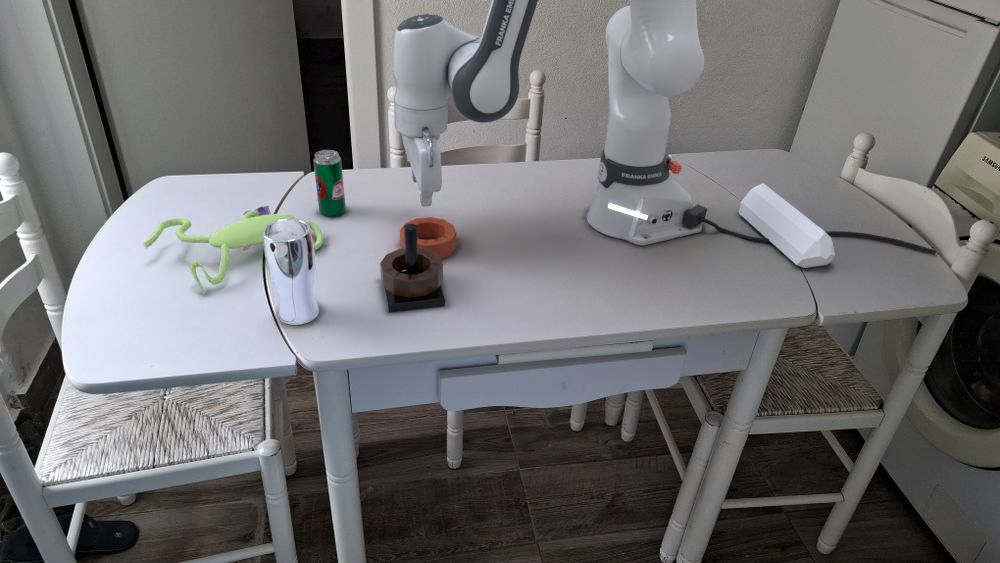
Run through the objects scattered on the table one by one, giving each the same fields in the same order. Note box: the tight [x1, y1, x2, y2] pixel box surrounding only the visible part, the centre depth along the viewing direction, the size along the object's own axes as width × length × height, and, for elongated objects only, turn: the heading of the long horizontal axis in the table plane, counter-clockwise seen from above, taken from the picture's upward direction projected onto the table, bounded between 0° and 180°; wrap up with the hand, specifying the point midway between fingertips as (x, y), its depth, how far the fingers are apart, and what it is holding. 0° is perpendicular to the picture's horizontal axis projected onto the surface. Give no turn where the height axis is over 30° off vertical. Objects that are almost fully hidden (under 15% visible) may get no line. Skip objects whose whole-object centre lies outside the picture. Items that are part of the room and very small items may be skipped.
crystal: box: [738, 182, 836, 269], centre depth 131 cm, size 7×7×24 cm
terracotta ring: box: [399, 216, 457, 260], centre depth 123 cm, size 10×10×3 cm
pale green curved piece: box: [142, 205, 324, 295], centre depth 119 cm, size 18×27×6 cm
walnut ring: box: [379, 248, 444, 298], centre depth 112 cm, size 10×10×3 cm
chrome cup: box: [262, 218, 320, 326], centre depth 102 cm, size 7×7×15 cm
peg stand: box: [382, 224, 446, 313], centre depth 109 cm, size 9×9×12 cm
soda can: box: [312, 149, 347, 218], centre depth 130 cm, size 5×5×12 cm
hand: (421, 192), depth 122 cm, fingers open, 8 cm apart
